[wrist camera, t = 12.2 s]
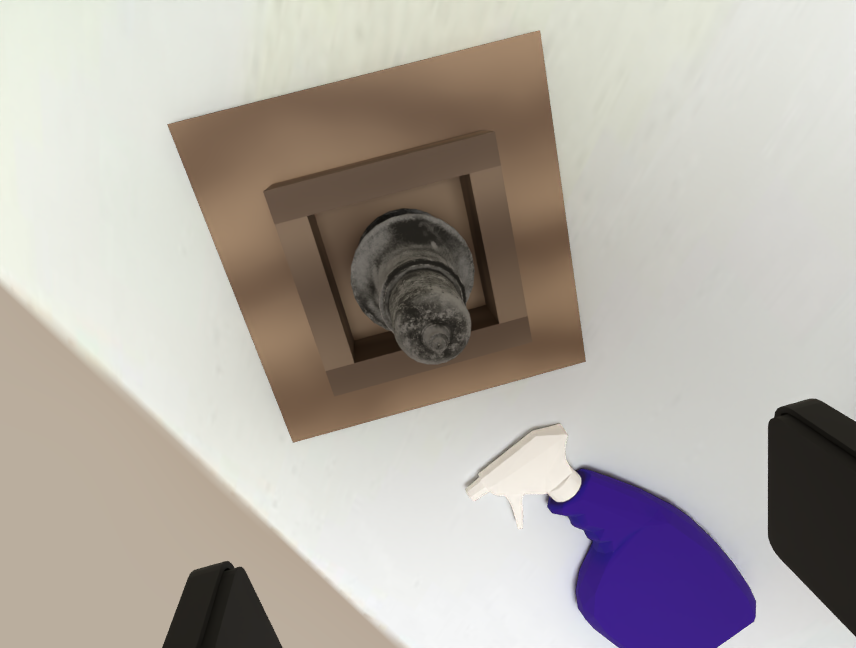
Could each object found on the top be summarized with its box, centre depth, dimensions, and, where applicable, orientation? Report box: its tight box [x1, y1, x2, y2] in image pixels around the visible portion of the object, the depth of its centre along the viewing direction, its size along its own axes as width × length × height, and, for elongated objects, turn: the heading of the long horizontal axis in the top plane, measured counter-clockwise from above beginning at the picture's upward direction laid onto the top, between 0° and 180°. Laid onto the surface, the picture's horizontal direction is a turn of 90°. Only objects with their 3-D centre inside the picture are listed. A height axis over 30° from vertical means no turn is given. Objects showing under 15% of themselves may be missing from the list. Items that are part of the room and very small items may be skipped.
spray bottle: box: [465, 424, 756, 648], centre depth 38 cm, size 3×11×25 cm
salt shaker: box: [351, 208, 475, 364], centre depth 23 cm, size 6×6×12 cm
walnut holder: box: [167, 30, 586, 443], centre depth 28 cm, size 18×18×4 cm
